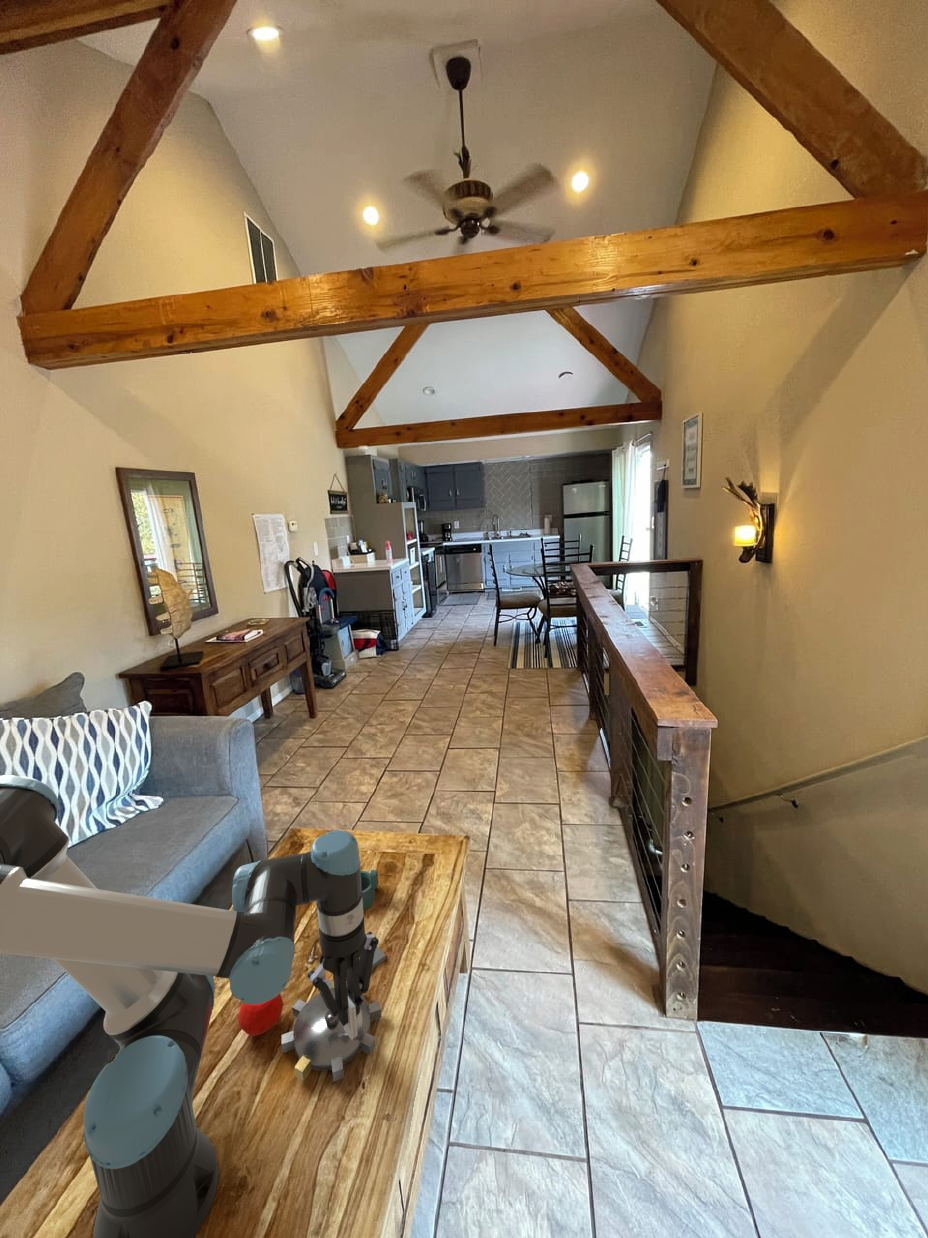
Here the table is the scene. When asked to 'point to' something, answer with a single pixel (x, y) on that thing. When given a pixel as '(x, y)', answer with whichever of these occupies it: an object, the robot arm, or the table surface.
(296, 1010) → the sprocket
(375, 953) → the seat
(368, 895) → the bracket
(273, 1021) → the apple
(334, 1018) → the hub
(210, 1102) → the table surface
